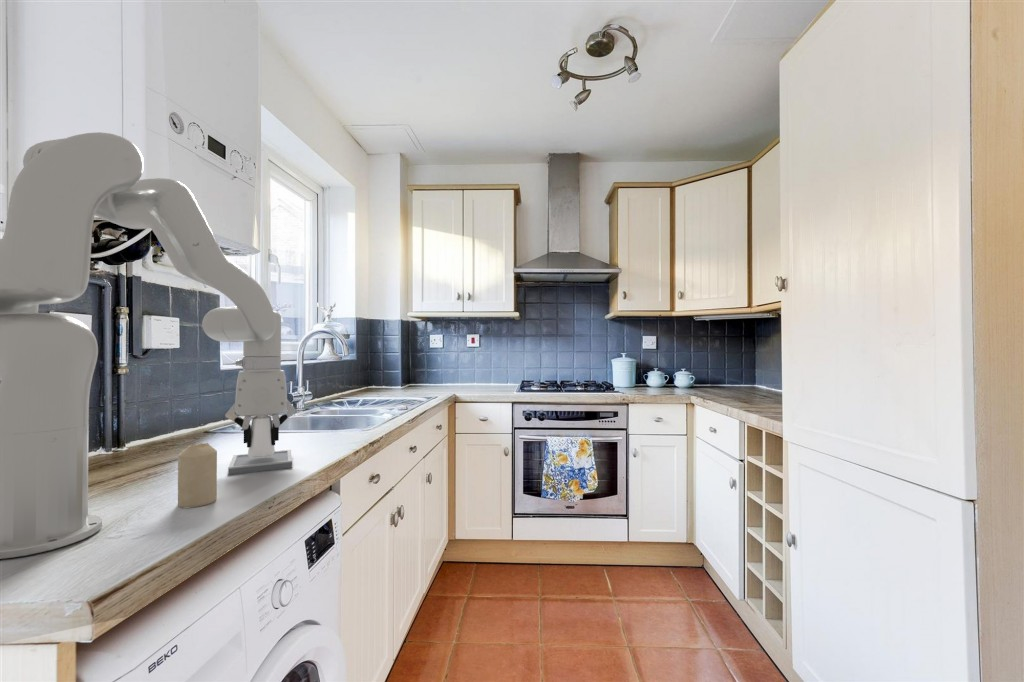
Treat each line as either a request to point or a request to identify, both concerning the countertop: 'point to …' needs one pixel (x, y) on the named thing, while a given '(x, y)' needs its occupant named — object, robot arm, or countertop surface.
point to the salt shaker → (261, 437)
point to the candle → (197, 476)
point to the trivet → (260, 462)
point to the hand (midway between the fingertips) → (261, 444)
